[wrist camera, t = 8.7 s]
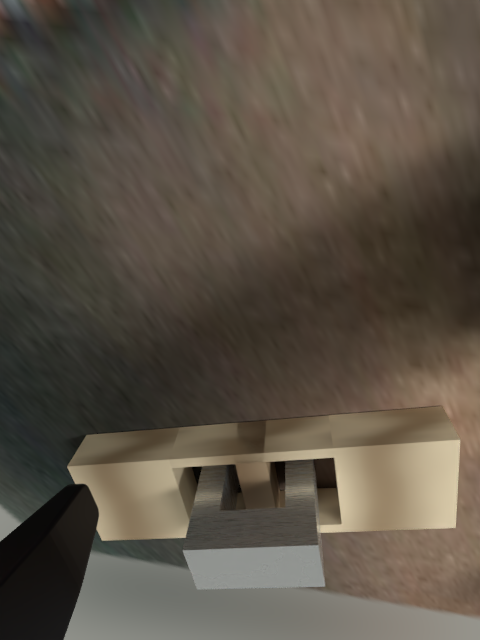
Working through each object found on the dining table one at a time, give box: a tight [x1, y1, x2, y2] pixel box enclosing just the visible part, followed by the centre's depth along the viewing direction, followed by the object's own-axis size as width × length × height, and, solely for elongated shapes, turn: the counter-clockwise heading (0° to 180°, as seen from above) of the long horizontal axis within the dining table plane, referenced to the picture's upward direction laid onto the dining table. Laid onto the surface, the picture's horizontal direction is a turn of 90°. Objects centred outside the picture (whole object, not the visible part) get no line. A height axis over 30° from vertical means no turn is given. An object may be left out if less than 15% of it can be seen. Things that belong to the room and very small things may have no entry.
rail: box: [67, 406, 460, 541], centre depth 24 cm, size 20×6×2 cm, turn 100°
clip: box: [183, 459, 325, 589], centre depth 22 cm, size 6×3×6 cm, turn 101°
